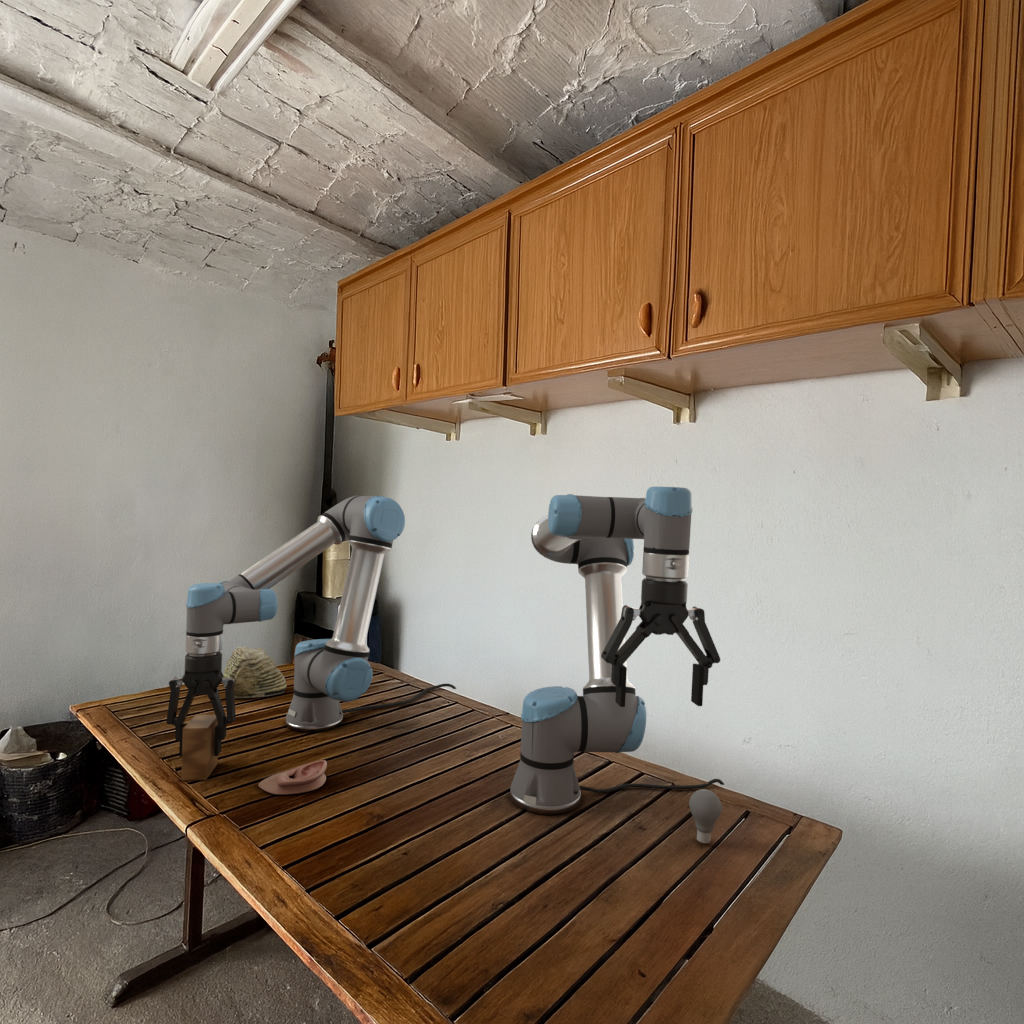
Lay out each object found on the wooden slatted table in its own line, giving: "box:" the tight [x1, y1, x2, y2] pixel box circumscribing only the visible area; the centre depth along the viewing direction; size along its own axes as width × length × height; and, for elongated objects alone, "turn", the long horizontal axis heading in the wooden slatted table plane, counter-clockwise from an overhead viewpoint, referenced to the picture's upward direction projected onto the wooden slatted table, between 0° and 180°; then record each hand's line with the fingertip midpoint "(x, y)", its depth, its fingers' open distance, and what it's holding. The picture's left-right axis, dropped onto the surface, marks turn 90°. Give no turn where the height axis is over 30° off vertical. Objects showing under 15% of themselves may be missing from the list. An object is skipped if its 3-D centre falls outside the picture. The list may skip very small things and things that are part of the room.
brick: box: [180, 714, 219, 782], centre depth 143 cm, size 5×9×12 cm, turn 10°
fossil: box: [222, 646, 288, 699], centre depth 198 cm, size 9×18×15 cm, turn 132°
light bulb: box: [688, 788, 723, 844], centre depth 122 cm, size 6×6×10 cm
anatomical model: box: [257, 759, 328, 795], centre depth 139 cm, size 13×4×12 cm
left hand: (200, 753), depth 143 cm, fingers open, 7 cm apart
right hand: (658, 704), depth 107 cm, fingers open, 13 cm apart
